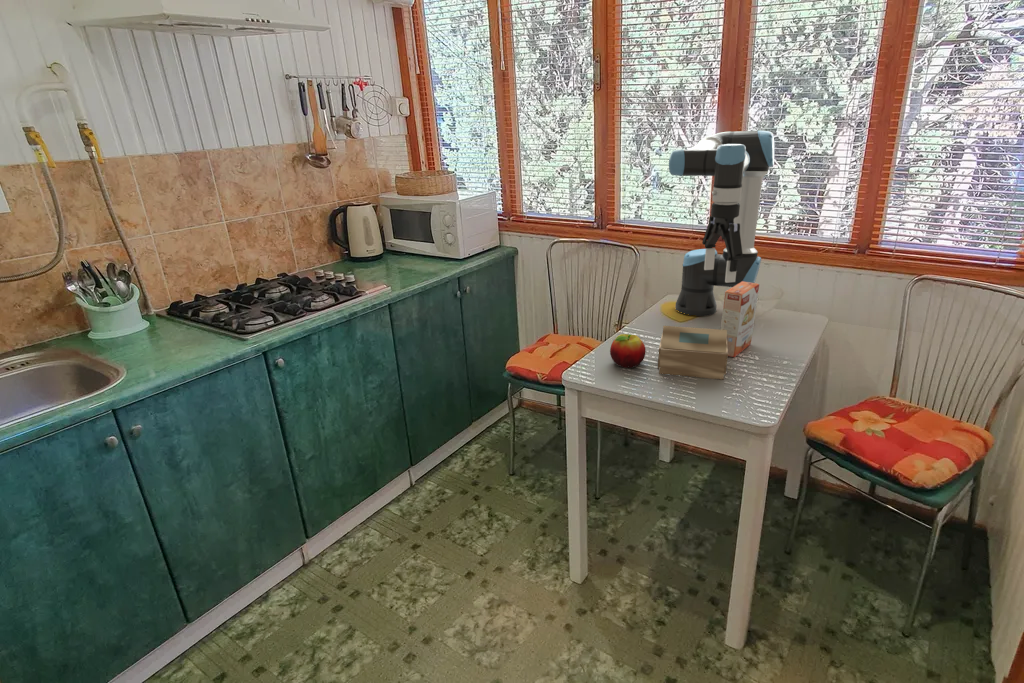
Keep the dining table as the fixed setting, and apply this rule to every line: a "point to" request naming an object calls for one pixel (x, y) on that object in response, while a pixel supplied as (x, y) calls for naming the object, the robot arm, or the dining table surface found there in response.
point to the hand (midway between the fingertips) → (719, 275)
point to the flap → (694, 339)
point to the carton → (692, 363)
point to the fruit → (627, 350)
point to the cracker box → (739, 316)
